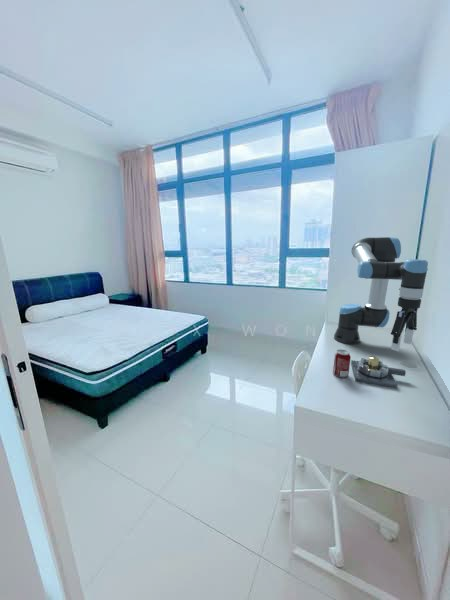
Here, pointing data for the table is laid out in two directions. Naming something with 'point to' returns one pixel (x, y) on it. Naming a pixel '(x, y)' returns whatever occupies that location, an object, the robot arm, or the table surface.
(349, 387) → the table surface
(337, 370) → the soda can
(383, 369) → the octagonal ring panel
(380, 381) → the base plate
